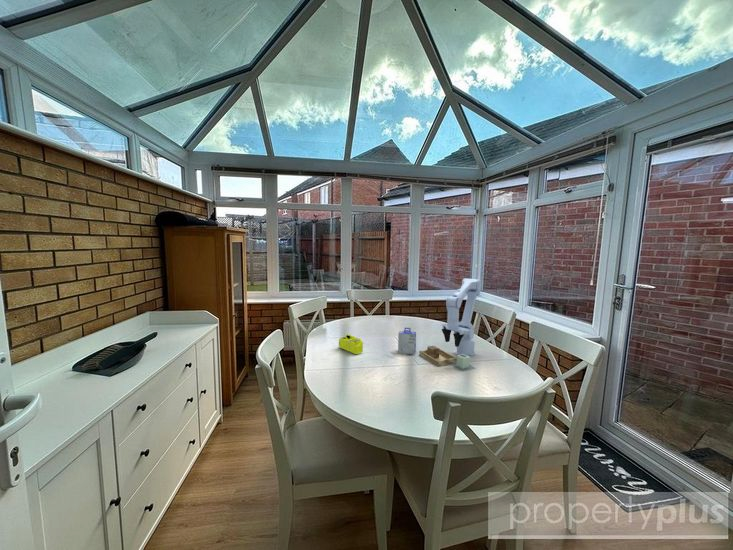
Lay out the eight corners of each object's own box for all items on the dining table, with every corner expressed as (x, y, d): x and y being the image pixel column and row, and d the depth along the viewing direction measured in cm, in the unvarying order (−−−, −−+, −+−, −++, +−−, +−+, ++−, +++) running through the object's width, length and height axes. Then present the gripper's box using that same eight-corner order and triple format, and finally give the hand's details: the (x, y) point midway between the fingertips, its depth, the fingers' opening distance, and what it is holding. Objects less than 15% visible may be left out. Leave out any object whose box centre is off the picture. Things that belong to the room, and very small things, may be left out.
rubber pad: (464, 362, 160) (464, 361, 160) (476, 369, 152) (476, 368, 151) (450, 365, 156) (450, 364, 156) (462, 372, 148) (462, 371, 148)
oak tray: (437, 352, 174) (437, 347, 174) (456, 363, 159) (457, 358, 158) (419, 356, 169) (419, 350, 169) (437, 367, 154) (437, 361, 153)
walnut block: (433, 353, 171) (434, 345, 170) (439, 357, 166) (439, 348, 165) (427, 355, 169) (427, 346, 168) (432, 358, 164) (432, 349, 164)
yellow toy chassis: (363, 353, 173) (363, 339, 172) (355, 355, 169) (355, 341, 168) (345, 346, 185) (345, 333, 184) (338, 348, 181) (338, 335, 180)
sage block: (456, 365, 155) (456, 355, 154) (463, 364, 157) (463, 353, 156) (462, 368, 151) (463, 358, 150) (469, 367, 153) (469, 356, 152)
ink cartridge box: (415, 351, 175) (416, 327, 174) (415, 355, 170) (415, 330, 169) (399, 350, 178) (399, 326, 176) (397, 353, 173) (398, 329, 171)
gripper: (438, 316, 163) (437, 340, 165) (456, 323, 150) (455, 349, 152) (448, 315, 166) (447, 339, 168) (467, 321, 153) (466, 347, 155)
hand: (452, 343), depth 160 cm, fingers open, 7 cm apart
